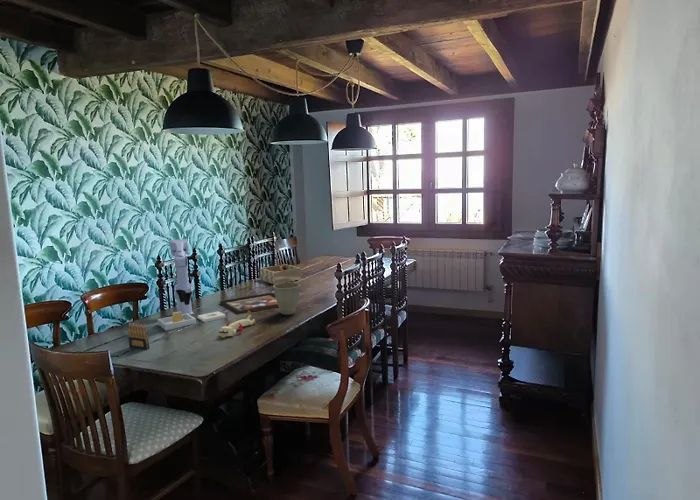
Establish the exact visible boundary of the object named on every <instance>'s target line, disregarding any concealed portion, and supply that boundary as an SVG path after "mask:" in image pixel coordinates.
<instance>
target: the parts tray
mask: <svg viewBox="0 0 700 500" xmlns="http://www.w3.org/2000/svg"><path fill="white" fill-rule="evenodd" d="M182 318H183V321H180V322H175V323H173V320H172V316H168V317H167V316H166V317H163V318H157V324H158V326H159V327H160V326H161V327H160V328H161V329H163V330H164V331H165V332H167V331H171V330H174V329H178V328H182V327H187V326H191V325H196V324H197V318H195V317H194V316H192V314H190V315H189V314H188V313H187V314H182Z"/></svg>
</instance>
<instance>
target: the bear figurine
mask: <svg viewBox="0 0 700 500" xmlns="http://www.w3.org/2000/svg"><path fill="white" fill-rule="evenodd" d="M282 265H283V266H281V267H279V271H284V270H286V269H287V267H286V265H284V264H282Z"/></svg>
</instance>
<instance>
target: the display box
mask: <svg viewBox="0 0 700 500" xmlns="http://www.w3.org/2000/svg"><path fill="white" fill-rule="evenodd" d="M283 265H286V267H287V269H286V270H284V271H279V267H281V266H283ZM301 269H302V268H301V267H298V266H294V265H290V264H286V263H283V264H279V265H272V266H265V267H261V268H259V274H260V275H259V276H260V279H259V280H260V281H263V282H266V283H268V284H272V285H273V286H274V285H276V284H279V283H286V282H287V283H288V282H290V281H293V282H296V281H295V280H298V281H302V270H301Z"/></svg>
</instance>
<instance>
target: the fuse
mask: <svg viewBox="0 0 700 500" xmlns="http://www.w3.org/2000/svg"><path fill="white" fill-rule="evenodd" d="M171 317H172V320H173V323H175V322H180V321H183V318H182V312H180V311H179V312H177V311H174V312H172V313H171Z"/></svg>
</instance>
